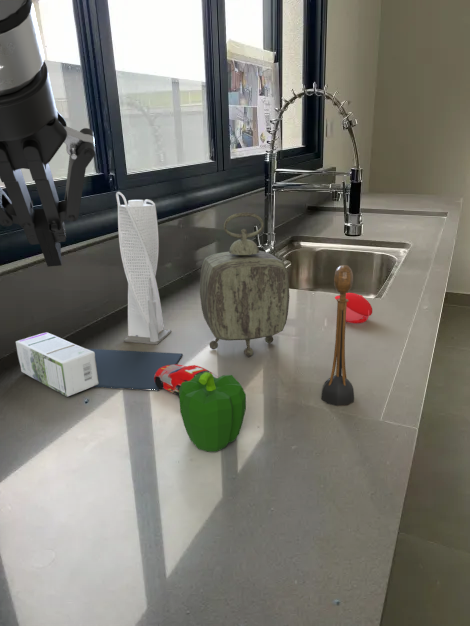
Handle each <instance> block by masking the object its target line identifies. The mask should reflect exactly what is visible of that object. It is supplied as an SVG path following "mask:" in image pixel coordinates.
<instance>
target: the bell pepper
mask: <svg viewBox="0 0 470 626" xmlns="http://www.w3.org/2000/svg"><path fill="white" fill-rule="evenodd" d="M211 373H212V372H211ZM211 373H209V372H205V373H203V374H202V373H199V374H198V375H196V376H195V377H194V378H192V379H191V380H190V381H187V382H182V384H181V386H180V389H179V396H178V398H179V411H180V416H181V419H182V422H183V426H184V428H185V431H186V434H187V435H188V438H189V440H190V442H192V443H193V445H194V446H195V447H196V448H197V450H200V451H204V452H210V453H211V452H219V451H221V450H222V449H225V448H226V447H227V446H228V444H229V443H233V442H234V441H235V440H236V439H237V438H238V436H239V435H240V434H241V430H242V426H243V423H244V419H245V413H246V410H247V409H246V408H247V404H246V403H247V394H246V392H245V390H244V388H243V386H242V385H241V382H239V381H238V380H237V379H236V378H235V376H233V375H232V374H224V375H220V376H219V378H215V377H213V375H212V374H211Z"/></svg>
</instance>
